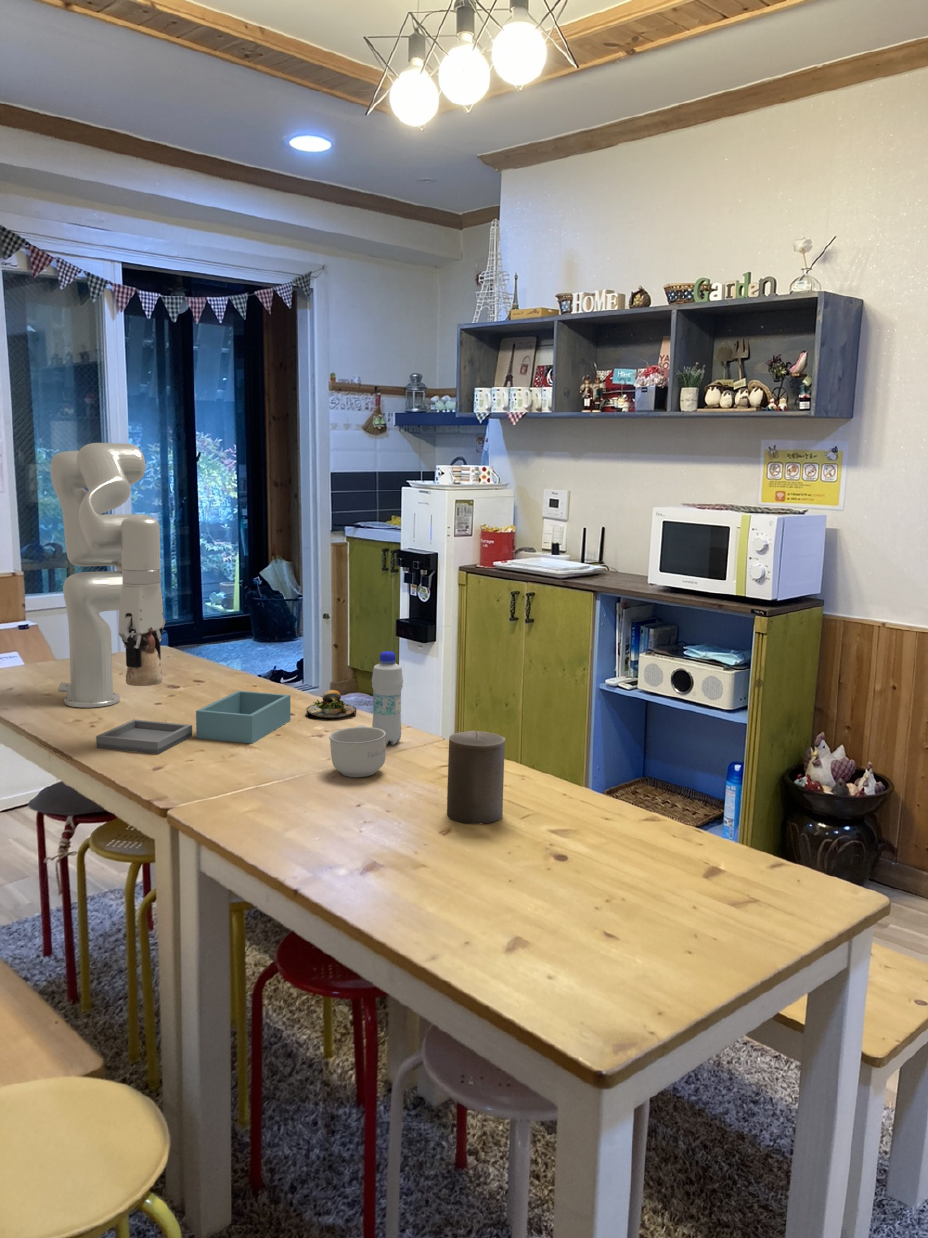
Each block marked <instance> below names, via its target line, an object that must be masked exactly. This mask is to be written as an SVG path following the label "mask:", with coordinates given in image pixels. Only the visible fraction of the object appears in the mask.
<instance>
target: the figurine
mask: <svg viewBox="0 0 928 1238" xmlns="http://www.w3.org/2000/svg"><path fill="white" fill-rule="evenodd" d="M133 632H135V631H133ZM152 632H153V628H152V627H151V628H149V632H148V633H146V634H142V635H141V640H140V645H139V648H141V660H142V666H141V667H139V668H137V667H127V666H126V667H127V668H126V675H125V684H127V685H128V686H132V687H149V686H156V685H159V684H161V683H162V681H163V672H162V665H161V660H160V659H159V655H158V652H157V650H156V649H155V639H154V637H153V636H152ZM135 633H136V632H135ZM131 637H132V638H133V639H134V641H135V637H134V636H131Z"/></svg>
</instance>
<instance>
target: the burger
mask: <svg viewBox="0 0 928 1238" xmlns="http://www.w3.org/2000/svg"><path fill="white" fill-rule="evenodd" d="M321 697H322V698H321V699H322V700H321V701H320V700H319V699H316V701H315V702H314V701H313V702H312V703H313V704H311V705H309V706H307V707H306V714H305V717H306V718H307V717H308V716H309V714H311V715H313V716H316V717H319V718H328V719H329V718H342V717H346V716H349V715H351V714H353V713H354V714H353V717H356V716H357V707H355V706H354V705H351V704H348V703H345V701H344V700H341V698H342V695H341V693H340V692H339V691H338V690H336V689H335V690H334V689H333V685H331V689H329V690H327V691H325V692H324V693H323V694H322V696H321Z"/></svg>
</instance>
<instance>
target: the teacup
mask: <svg viewBox="0 0 928 1238" xmlns="http://www.w3.org/2000/svg"><path fill="white" fill-rule="evenodd" d="M385 736H386V733H385V731H384V730H381V729H378V728H373V727H372V726H371V727H370V726H366V725H364V724H360V725H358V726H355V727H354V726H353V727H346V728H340V729H338V730H335V731H333V732H332V733H330V734H329V736H328V737H329V741H330V743H329V745H330V756H331V763H332V766H333V768H335V770H336V771H338V772H339V773H340V774H342V775H343V776H345V777H347V778H364V777H365V778H366V777H369V776H372V775H375V774H376V773H377V772H378V771H379V769H381V768H382V767H383V766H384V765H385V761H386V751H387V749H386V748H387V747H386V746H387V745H386V742H385Z"/></svg>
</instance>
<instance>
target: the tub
mask: <svg viewBox="0 0 928 1238" xmlns="http://www.w3.org/2000/svg"><path fill="white" fill-rule="evenodd" d="M195 721H196V722H195V724H196V726H195V731H196V732H195V733H196V734H195V735H196V739H199V740H200V739H201V740H211V741H212V740H213V741H220V742H221V741H222V742H233V743H242V744H254V743H256V742H257V741H259V740H260V739H262V738H264V737H266V736H267V735H269V734H271V733H272V732H275V731H276V730H277V729H279V728H280V727H283V725H285V724H287V723H289V722H291V695H290V694H282V693H281V694H280V693H269V692H268V693H267V692H260V691H259V692H258V691H246V690H236V691H235V692H232V693H230V694H227V695H226V696H224V697H222V698H220V699H218V700H216V701H214V702H212V703H209V704H208V705H205V706H203V707H201V708H200V709H198V710H195Z"/></svg>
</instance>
